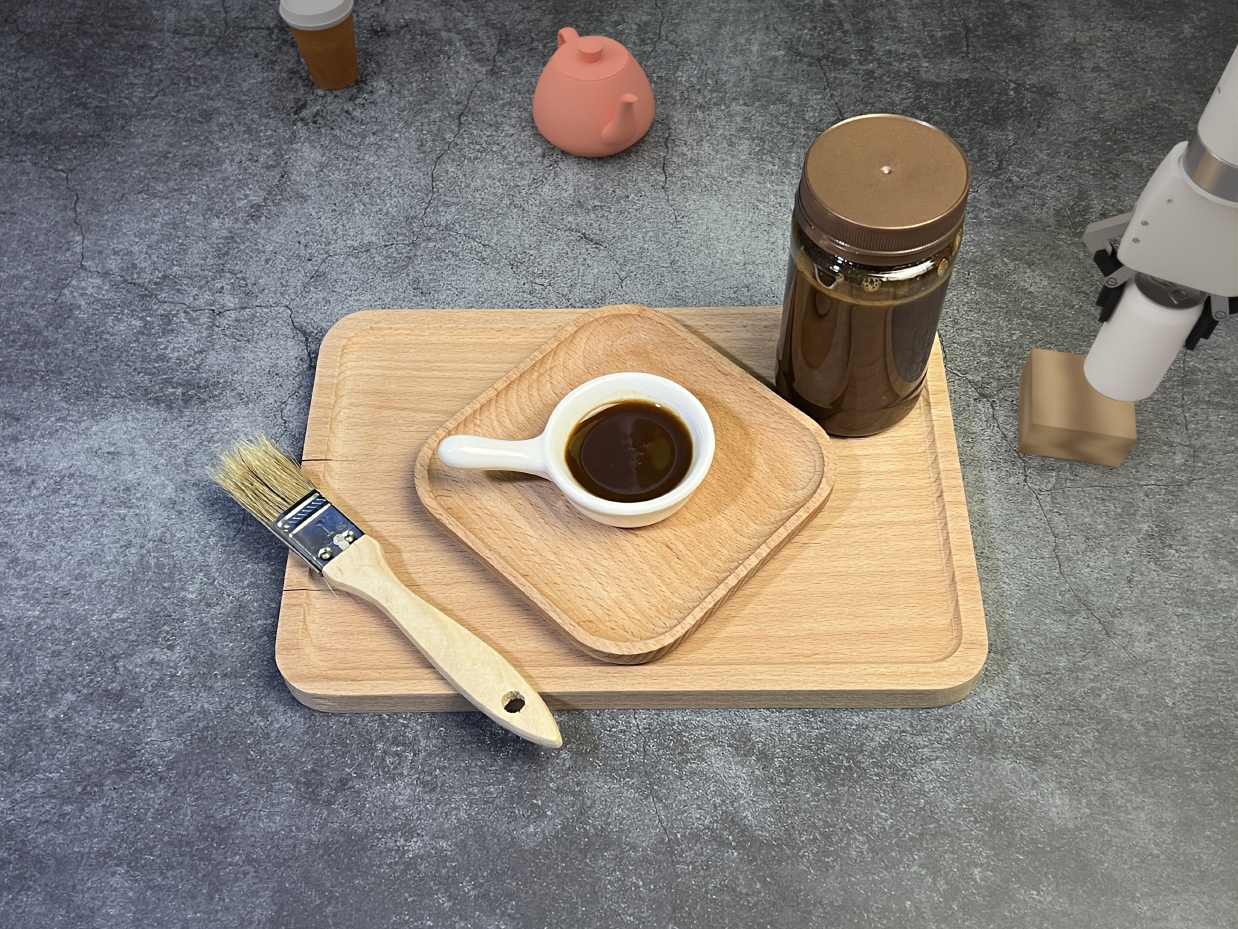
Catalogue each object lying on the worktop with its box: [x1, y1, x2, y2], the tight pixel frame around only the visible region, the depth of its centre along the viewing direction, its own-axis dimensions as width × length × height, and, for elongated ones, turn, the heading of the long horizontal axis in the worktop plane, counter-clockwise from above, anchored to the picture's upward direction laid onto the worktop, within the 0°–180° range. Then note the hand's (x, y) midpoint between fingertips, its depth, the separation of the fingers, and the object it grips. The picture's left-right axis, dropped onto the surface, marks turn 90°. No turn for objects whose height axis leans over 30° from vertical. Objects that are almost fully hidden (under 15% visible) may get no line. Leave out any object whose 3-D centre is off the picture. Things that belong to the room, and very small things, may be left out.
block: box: [1017, 347, 1138, 468], centre depth 113 cm, size 10×10×5 cm
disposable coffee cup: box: [278, 0, 360, 90], centre depth 146 cm, size 10×10×12 cm
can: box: [1084, 272, 1208, 402], centre depth 95 cm, size 6×6×12 cm
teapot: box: [532, 26, 656, 158], centre depth 138 cm, size 22×16×12 cm
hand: (1148, 323), depth 94 cm, fingers closed on can, 6 cm apart
